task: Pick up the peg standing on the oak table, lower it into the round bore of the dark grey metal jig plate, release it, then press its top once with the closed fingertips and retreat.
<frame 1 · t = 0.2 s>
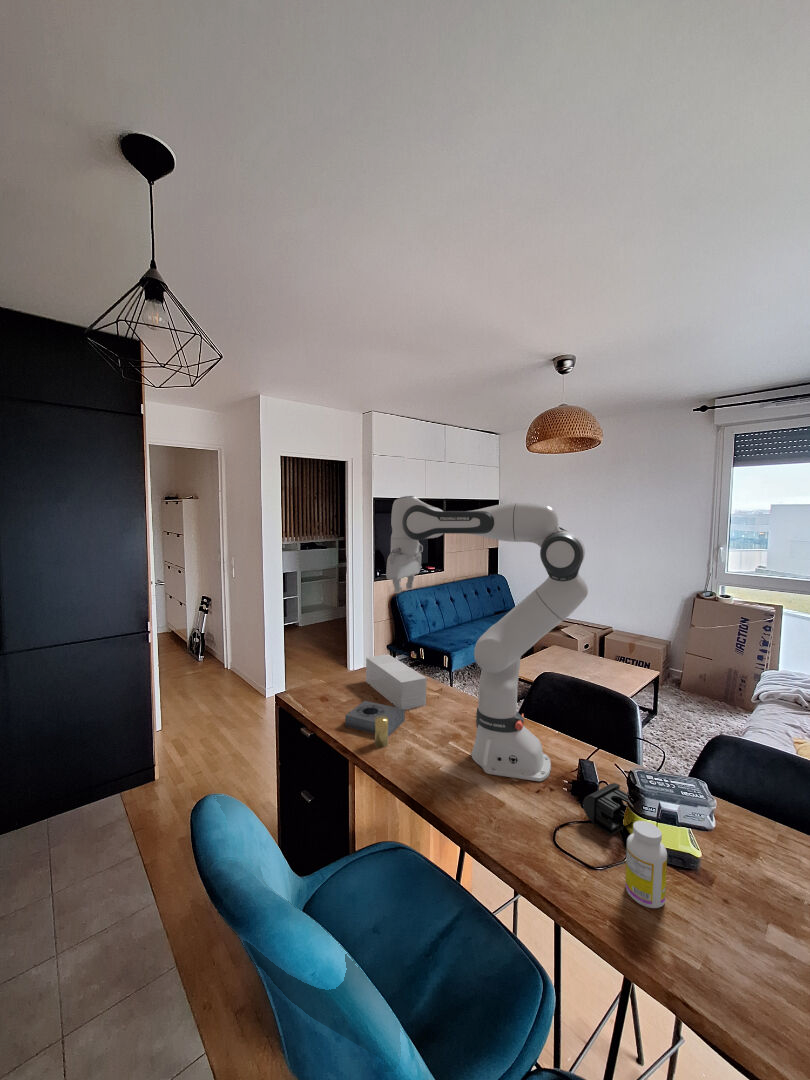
hand: (403, 590, 139), 47 cm above the table, fingers open, 8 cm apart
end cap: (608, 820, 103), on the table
jig: (375, 723, 149), on the table
supplement bottle: (644, 895, 82), on the table
peg: (381, 743, 136), on the table
light gray rectangular block: (393, 693, 176), on the table
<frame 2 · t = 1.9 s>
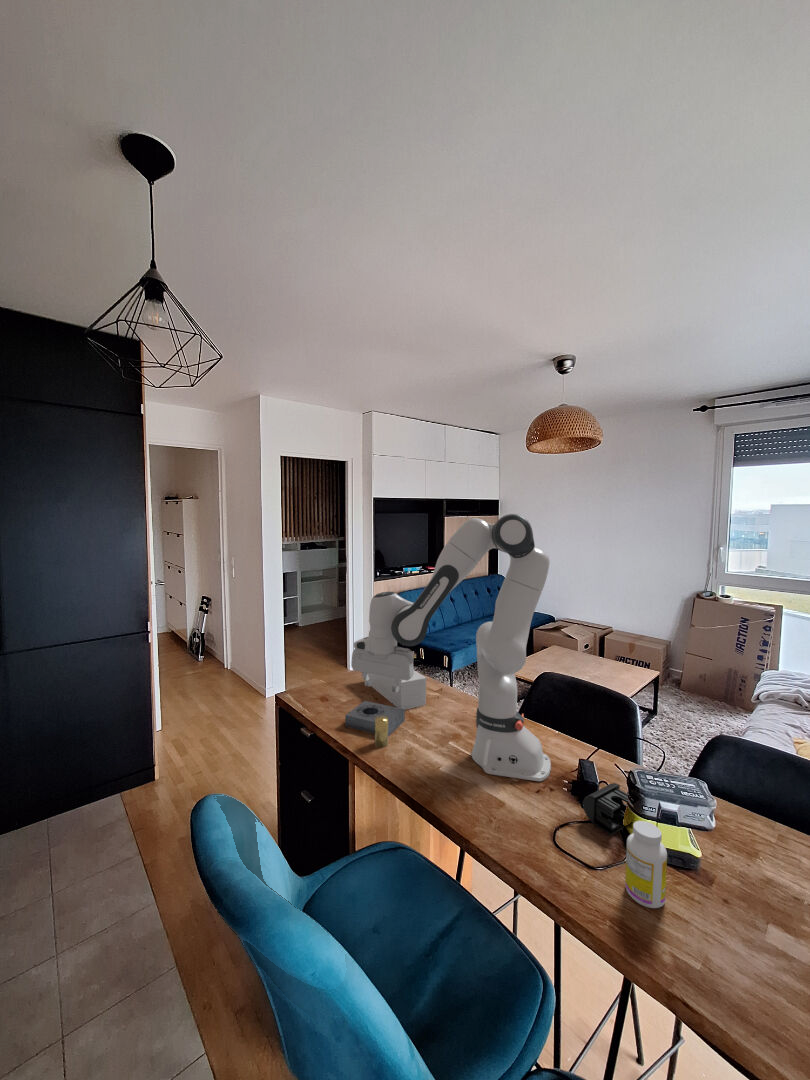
hand: (381, 688, 135), 18 cm above the table, fingers open, 8 cm apart
nothing on the table moved.
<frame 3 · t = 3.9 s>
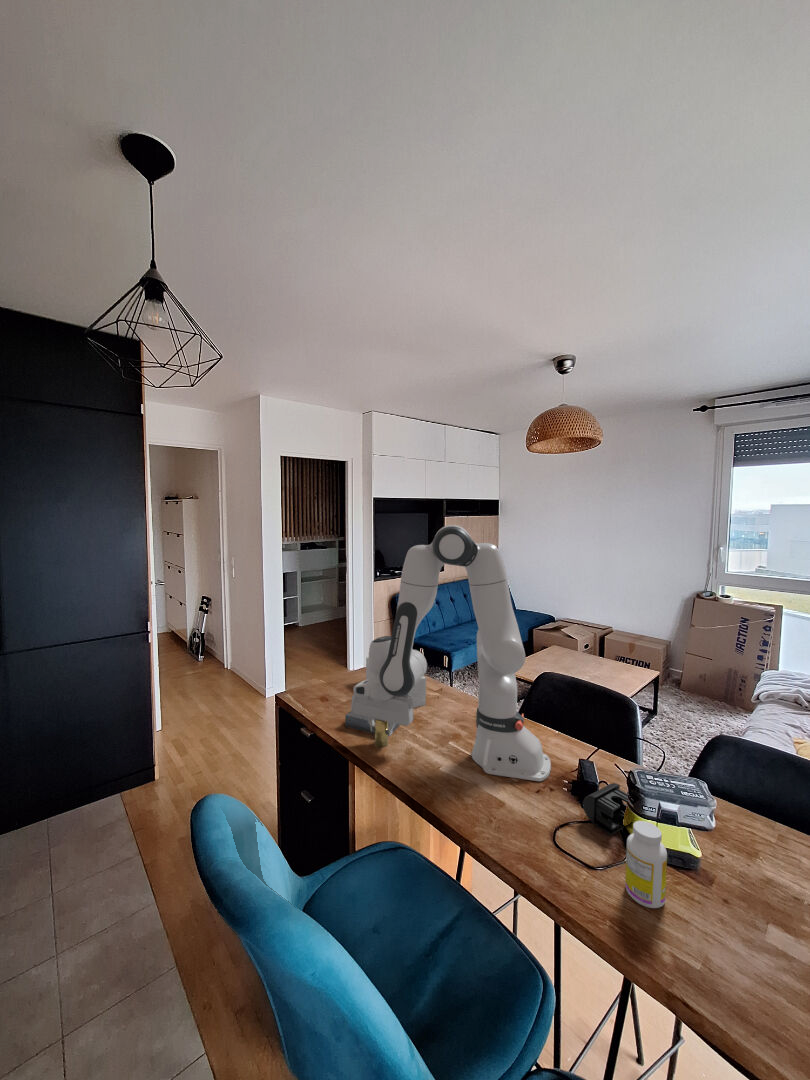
hand: (381, 732, 135), 4 cm above the table, fingers closed on peg, 4 cm apart
peg: (381, 743, 136), on the table, touching gripper
everything else where it was.
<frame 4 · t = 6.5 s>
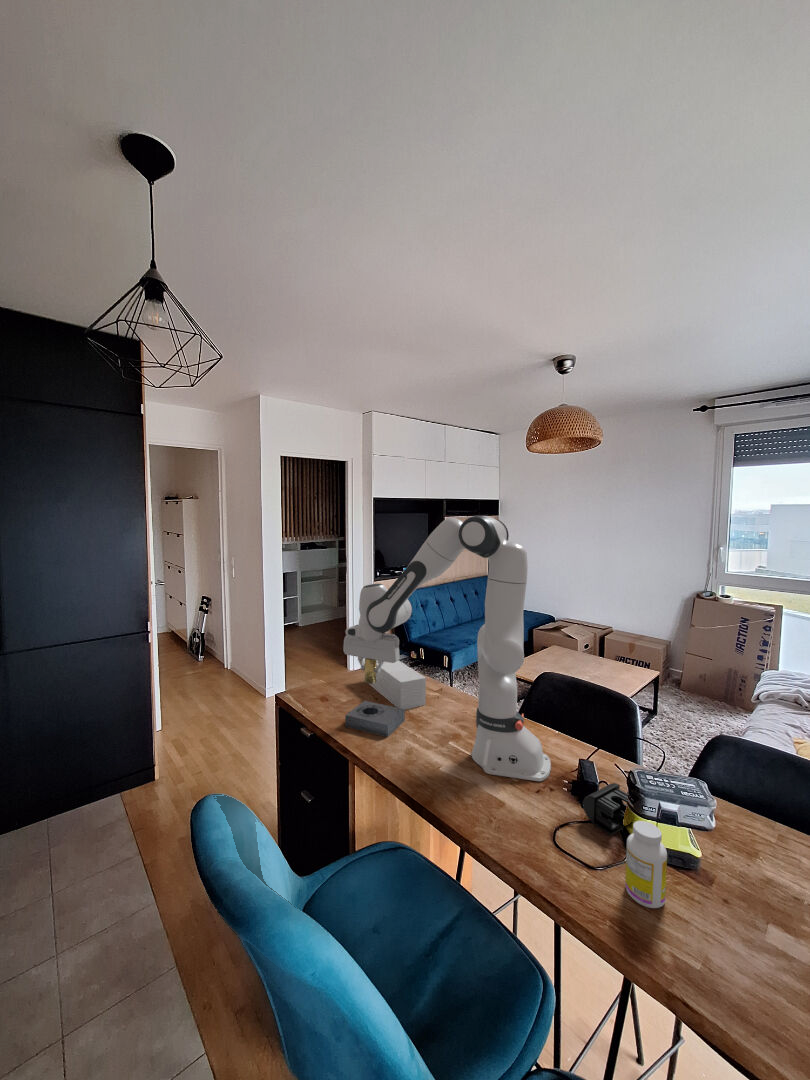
hand: (370, 671, 149), 18 cm above the table, fingers closed on peg, 4 cm apart
peg: (370, 681, 149), point 14 cm above the table, touching gripper
everything else where it was.
when the fingers open (6 cm above the table, at t = 9.1 s): peg stays where it is, resting on jig.
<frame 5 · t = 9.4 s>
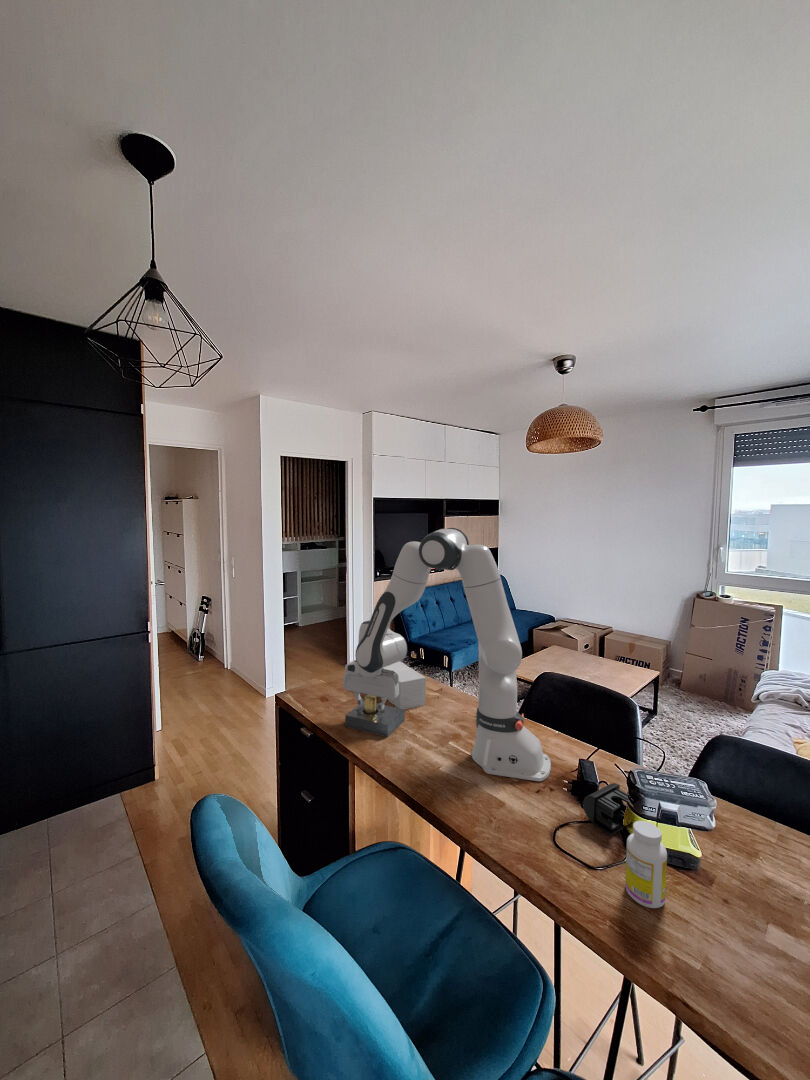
hand: (370, 706, 150), 6 cm above the table, fingers open, 7 cm apart
peg: (370, 719, 150), point 1 cm above the table, touching jig
everything else where it was.
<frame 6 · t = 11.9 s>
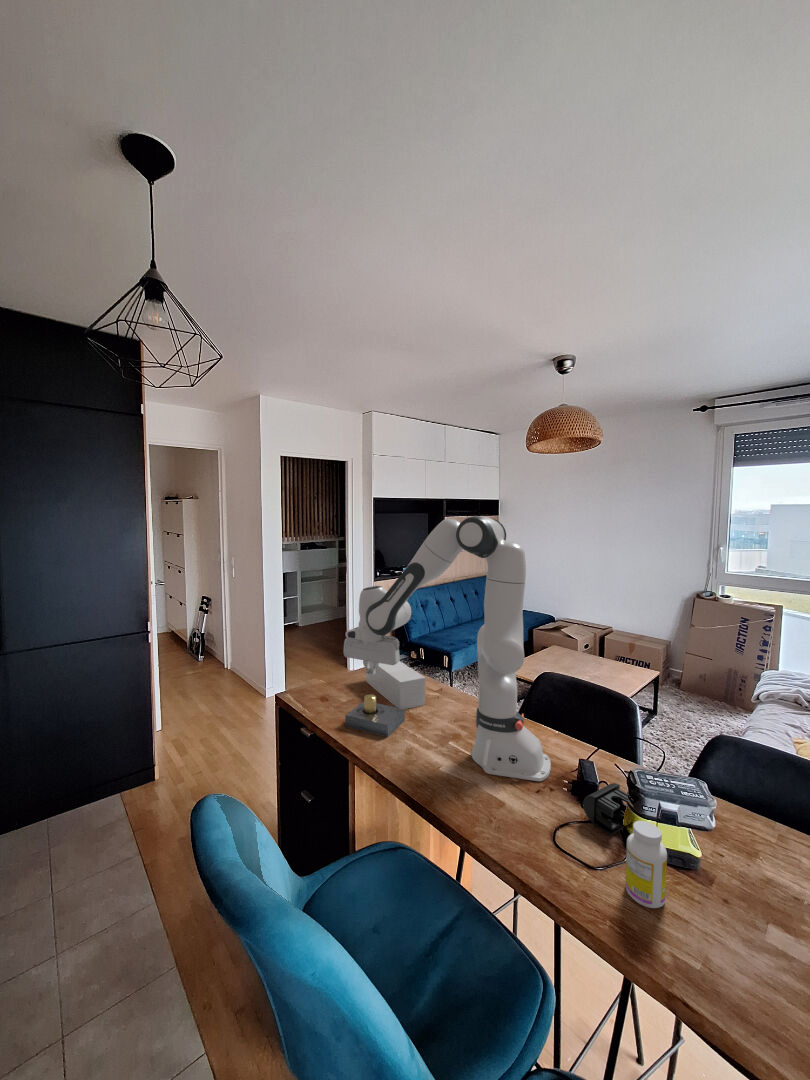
hand: (370, 673, 149), 17 cm above the table, fingers closed
nothing on the table moved.
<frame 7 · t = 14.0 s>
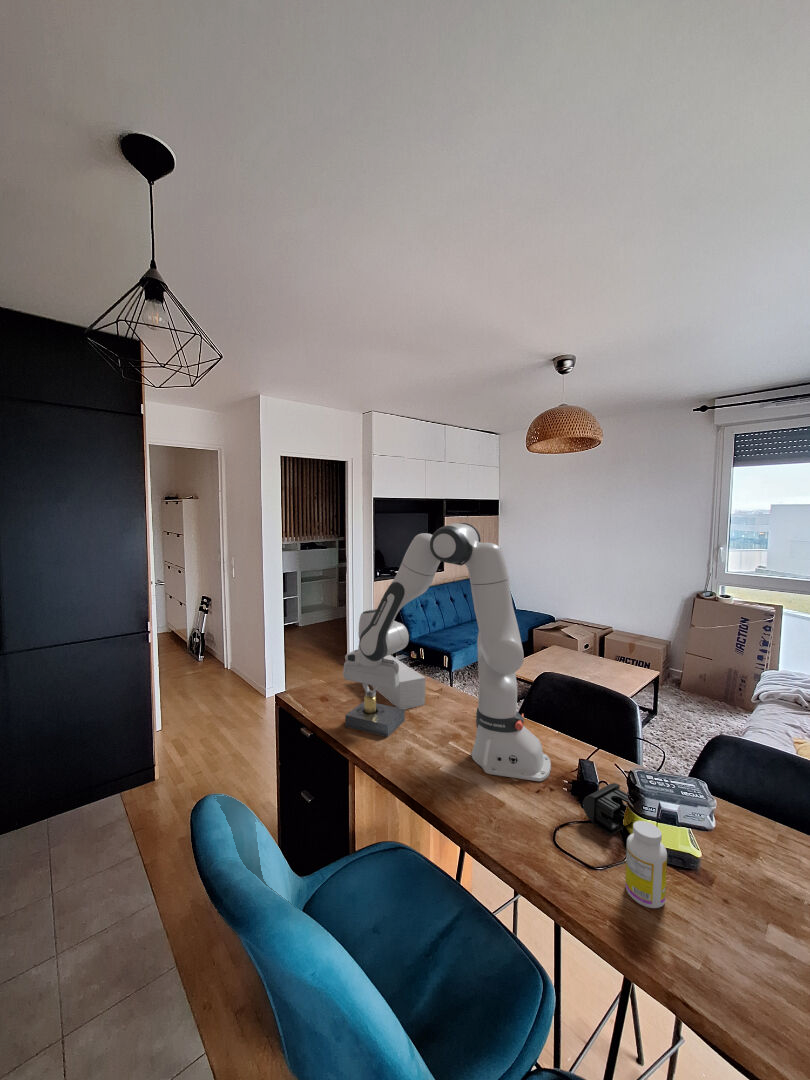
hand: (370, 696, 149), 9 cm above the table, fingers closed, pressing on peg
peg: (370, 719, 150), point 1 cm above the table, touching gripper, jig
everything else where it was.
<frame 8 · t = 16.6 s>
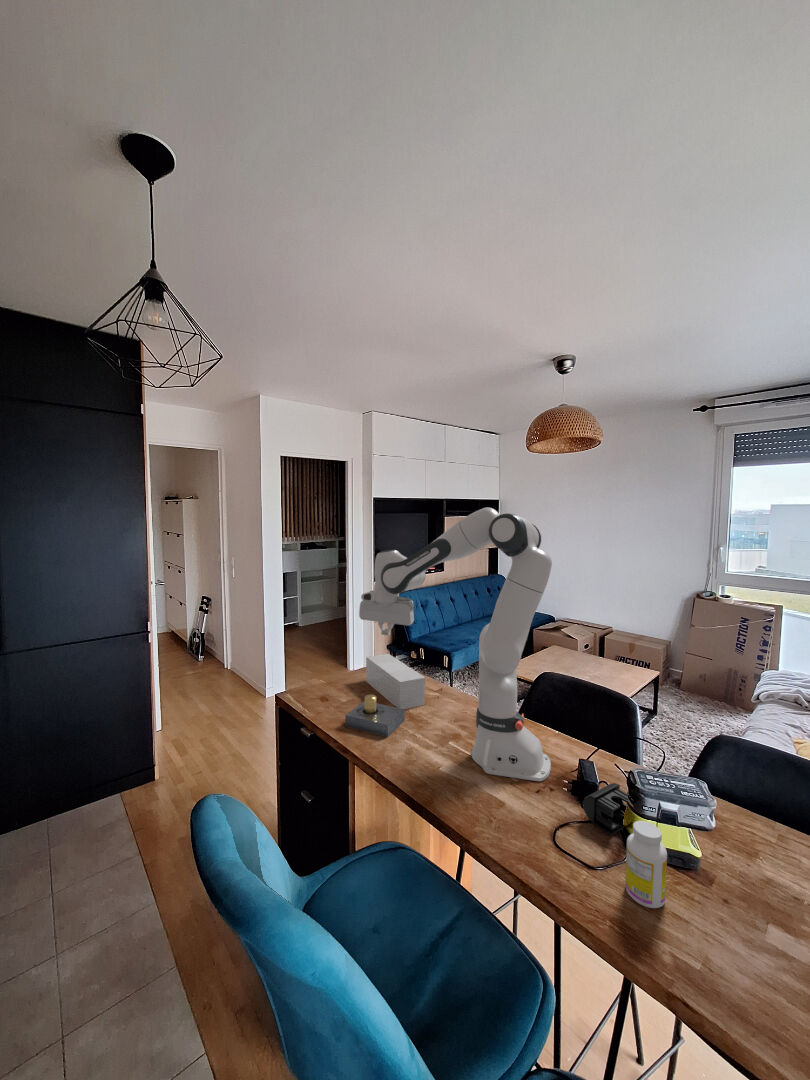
hand: (385, 634, 154), 29 cm above the table, fingers closed
peg: (370, 719, 150), point 1 cm above the table, touching jig
everything else where it was.
at the end: peg 0.1 cm from the target spot on the jig, point 1.0 cm above the jig's base; peg tilted 0°; the gripper is holding nothing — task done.
